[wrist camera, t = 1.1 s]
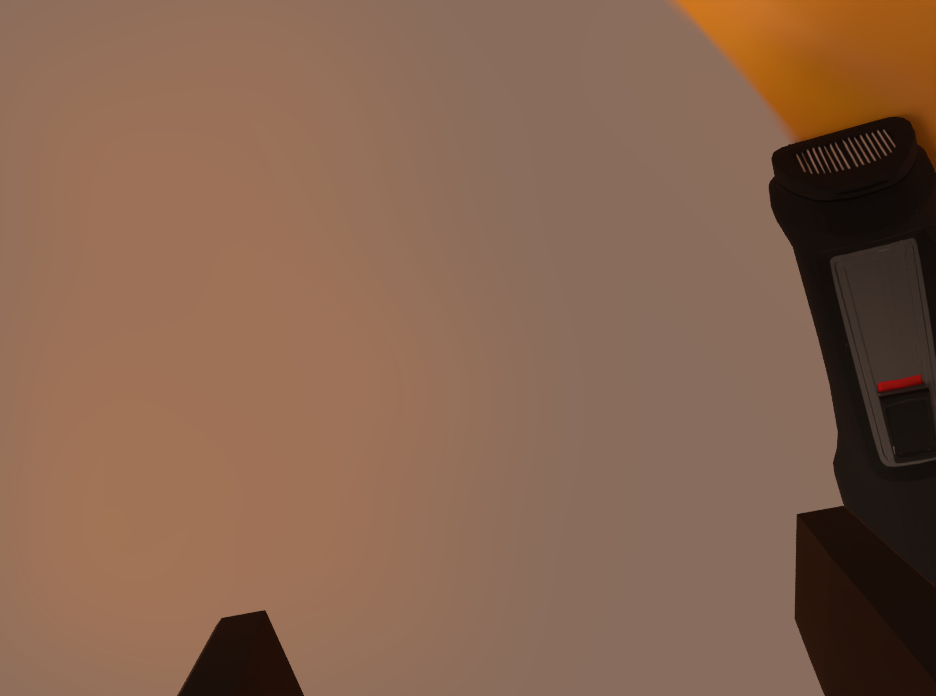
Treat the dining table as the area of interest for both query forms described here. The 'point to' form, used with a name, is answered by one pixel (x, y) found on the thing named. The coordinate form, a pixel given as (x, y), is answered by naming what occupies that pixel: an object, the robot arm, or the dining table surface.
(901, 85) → the dining table surface
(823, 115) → the dining table surface
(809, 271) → the electric trimmer
